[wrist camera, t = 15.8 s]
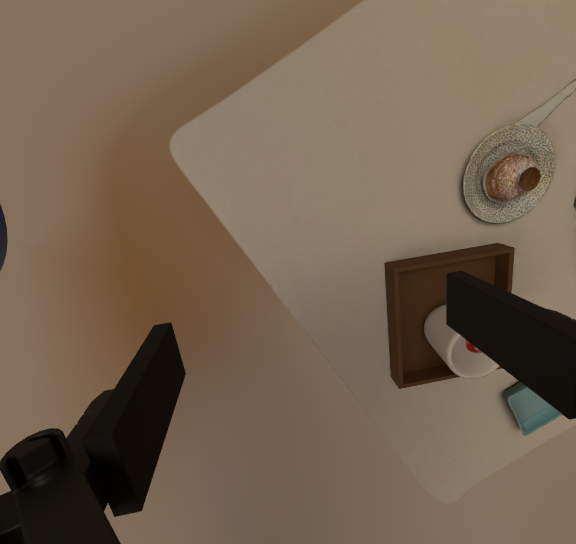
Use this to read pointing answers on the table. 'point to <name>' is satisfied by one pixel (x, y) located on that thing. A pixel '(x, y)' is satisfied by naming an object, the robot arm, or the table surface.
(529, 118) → the fork
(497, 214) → the pastry
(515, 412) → the shallow long dish
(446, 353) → the cup
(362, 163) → the table surface
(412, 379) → the tray
